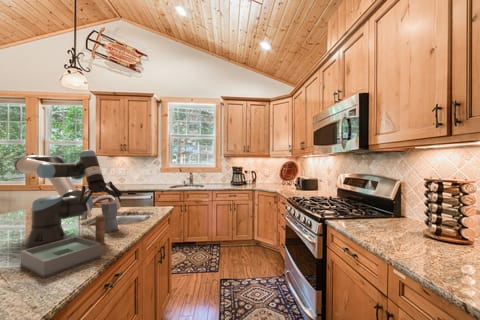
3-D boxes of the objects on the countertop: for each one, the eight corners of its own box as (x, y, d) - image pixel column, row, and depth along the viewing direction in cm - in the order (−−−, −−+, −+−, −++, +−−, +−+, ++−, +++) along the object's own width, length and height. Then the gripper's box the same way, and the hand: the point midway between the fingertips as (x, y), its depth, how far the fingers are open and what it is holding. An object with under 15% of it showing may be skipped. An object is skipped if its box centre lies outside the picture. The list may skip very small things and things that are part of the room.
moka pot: (97, 234, 124) (98, 200, 124) (102, 227, 138) (103, 196, 138) (116, 232, 127) (117, 199, 128) (119, 225, 142) (120, 195, 142)
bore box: (20, 265, 86) (20, 250, 86) (76, 248, 104) (77, 236, 104) (43, 278, 77) (44, 261, 77) (101, 257, 94) (101, 243, 95)
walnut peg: (93, 244, 109) (94, 216, 110) (101, 241, 113) (102, 215, 113) (98, 245, 108) (98, 217, 108) (106, 243, 111) (106, 216, 111)
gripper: (66, 177, 104) (77, 217, 99) (120, 170, 123) (132, 203, 118) (64, 183, 108) (74, 222, 103) (116, 175, 128) (128, 208, 122)
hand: (105, 212), depth 110 cm, fingers open, 13 cm apart
